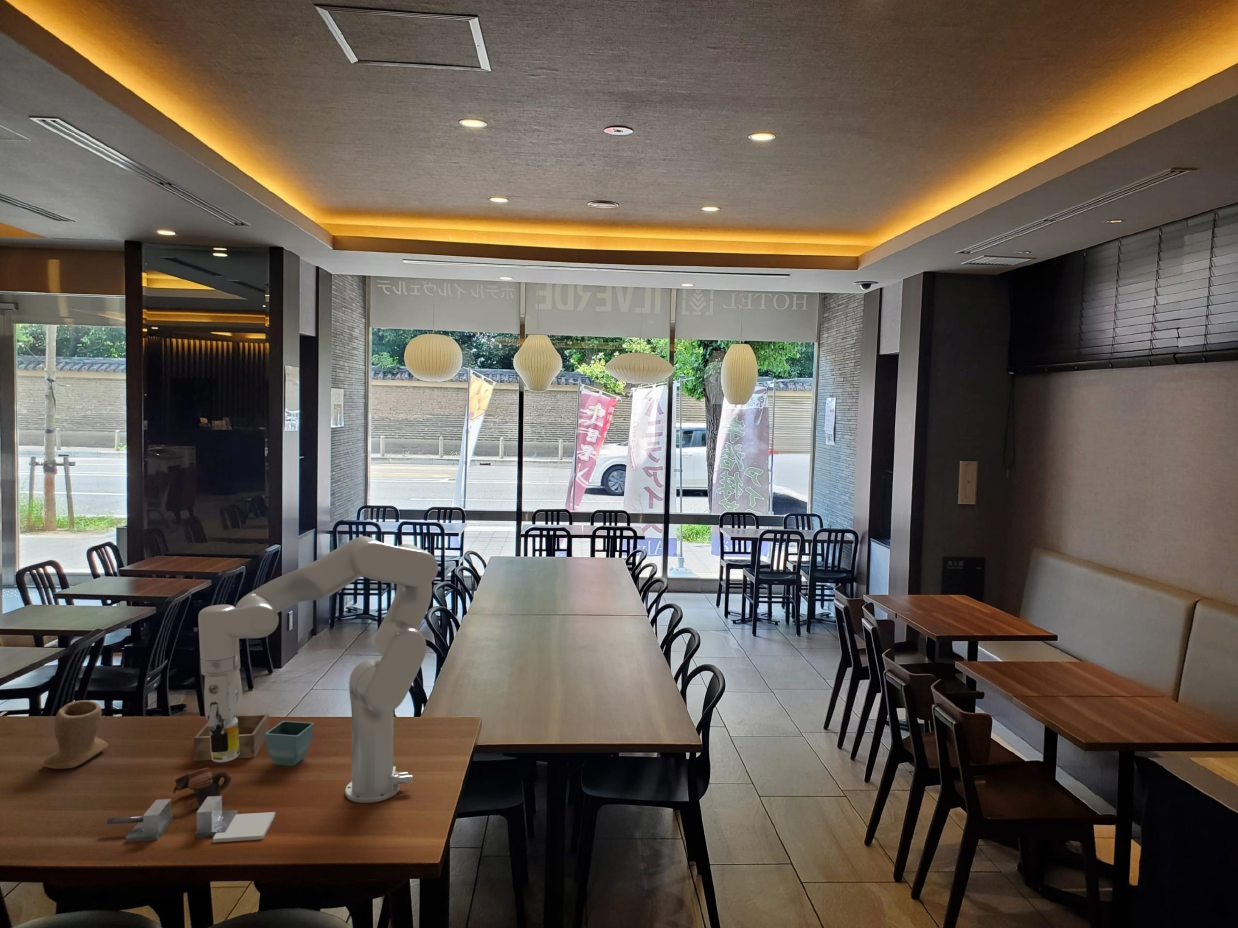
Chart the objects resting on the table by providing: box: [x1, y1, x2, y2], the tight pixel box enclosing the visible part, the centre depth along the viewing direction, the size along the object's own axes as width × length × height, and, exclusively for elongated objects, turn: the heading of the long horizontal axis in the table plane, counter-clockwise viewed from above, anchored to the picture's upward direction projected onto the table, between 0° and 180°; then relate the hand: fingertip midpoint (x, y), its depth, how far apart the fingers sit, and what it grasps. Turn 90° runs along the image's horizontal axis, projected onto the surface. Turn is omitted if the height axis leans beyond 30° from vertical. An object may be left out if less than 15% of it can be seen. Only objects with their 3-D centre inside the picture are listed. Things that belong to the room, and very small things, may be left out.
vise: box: [106, 795, 239, 843], centre depth 174 cm, size 25×9×5 cm, turn 100°
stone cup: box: [42, 699, 109, 770], centre depth 206 cm, size 15×12×15 cm
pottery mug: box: [172, 767, 232, 811], centre depth 187 cm, size 12×10×8 cm
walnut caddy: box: [193, 713, 270, 762], centre depth 215 cm, size 15×15×6 cm
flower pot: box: [265, 720, 315, 767], centre depth 207 cm, size 9×9×9 cm
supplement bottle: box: [210, 716, 239, 763], centre depth 173 cm, size 6×6×10 cm
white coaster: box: [212, 811, 276, 843], centre depth 175 cm, size 10×10×1 cm
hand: (225, 743), depth 174 cm, fingers closed on supplement bottle, 5 cm apart
